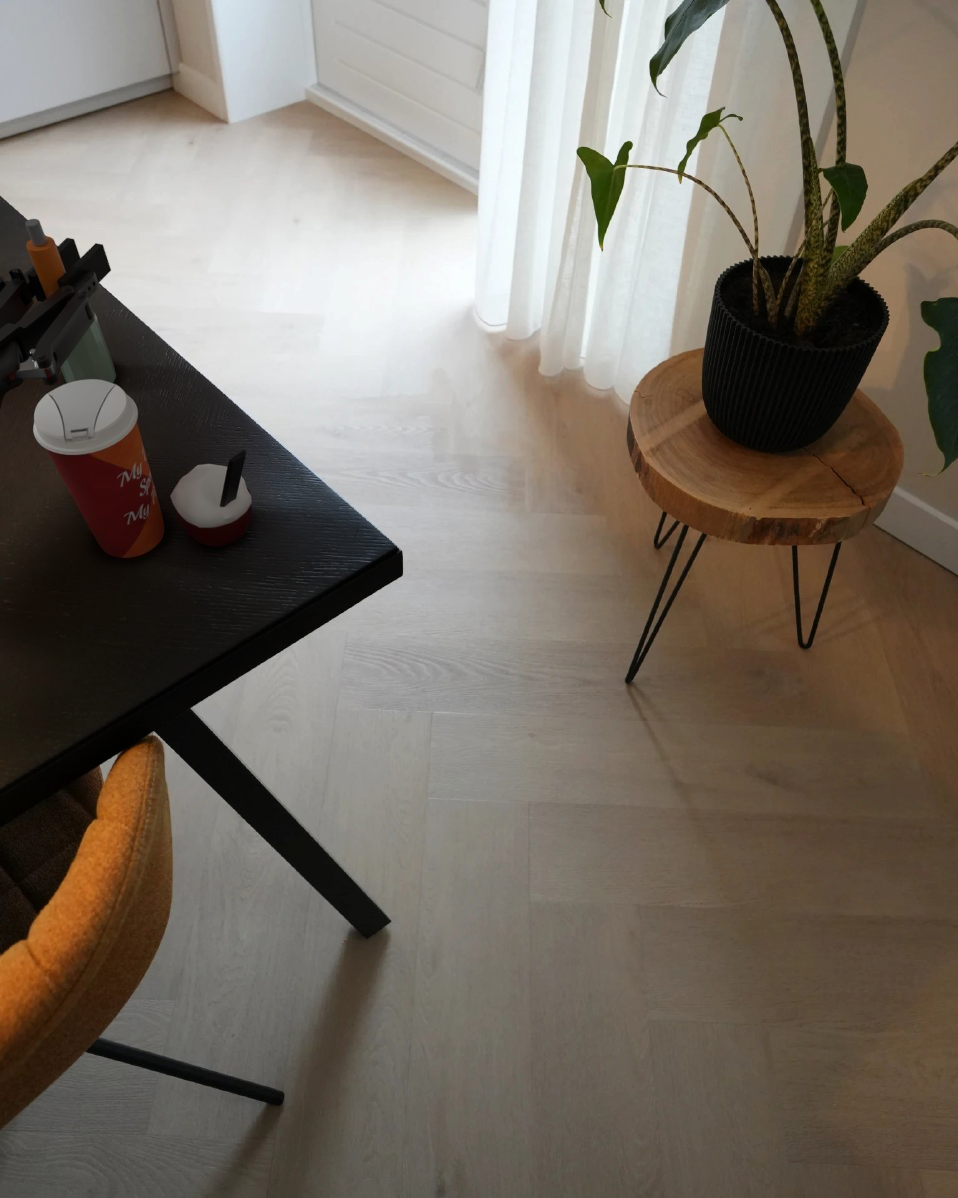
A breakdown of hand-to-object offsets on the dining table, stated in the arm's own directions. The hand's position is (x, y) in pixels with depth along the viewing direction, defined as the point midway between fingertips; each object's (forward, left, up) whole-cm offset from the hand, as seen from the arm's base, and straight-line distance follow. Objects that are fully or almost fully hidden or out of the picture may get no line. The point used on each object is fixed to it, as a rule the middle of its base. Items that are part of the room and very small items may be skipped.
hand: (88, 254), depth 92 cm
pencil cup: (0, -5, -11) cm, 12 cm away
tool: (0, -5, -8) cm, 9 cm away
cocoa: (+20, -23, -11) cm, 32 cm away
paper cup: (+13, -24, -11) cm, 29 cm away
